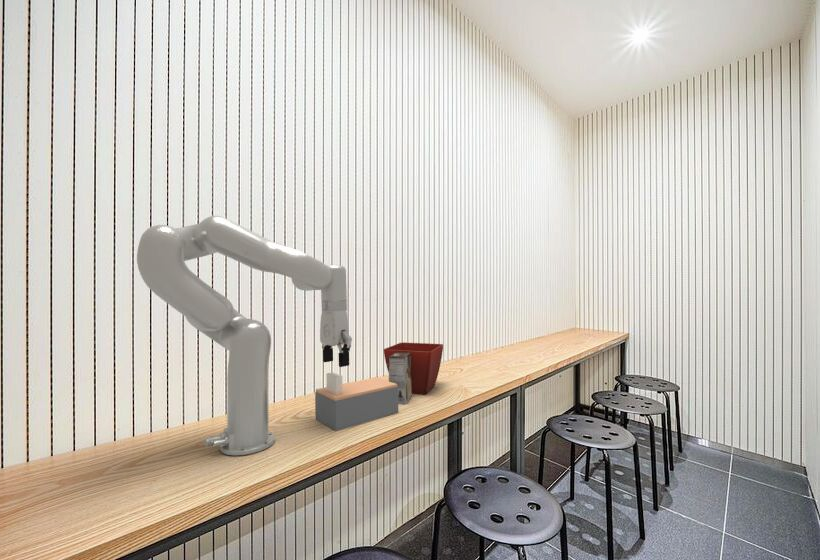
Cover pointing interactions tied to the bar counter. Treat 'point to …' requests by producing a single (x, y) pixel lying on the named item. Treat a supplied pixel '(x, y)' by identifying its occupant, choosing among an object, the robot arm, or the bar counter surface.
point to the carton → (355, 408)
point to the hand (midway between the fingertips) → (335, 363)
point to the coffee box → (401, 375)
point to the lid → (352, 387)
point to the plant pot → (420, 363)
